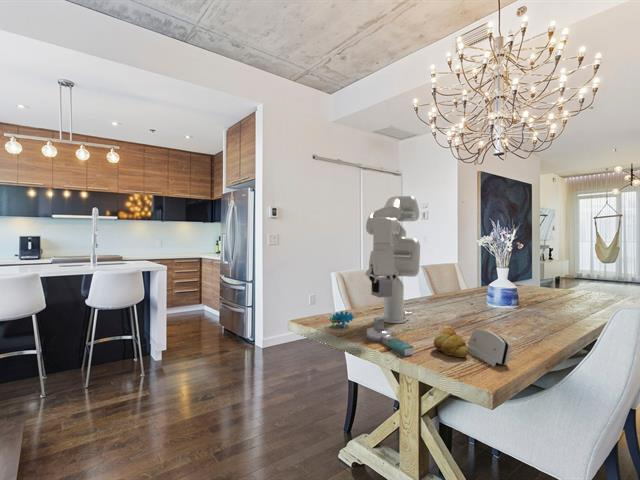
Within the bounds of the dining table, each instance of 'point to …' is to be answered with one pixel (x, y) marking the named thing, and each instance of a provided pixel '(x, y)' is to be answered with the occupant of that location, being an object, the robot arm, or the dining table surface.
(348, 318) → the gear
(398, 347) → the ratchet
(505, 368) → the dining table surface
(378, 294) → the socket
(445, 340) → the bread roll
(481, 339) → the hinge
